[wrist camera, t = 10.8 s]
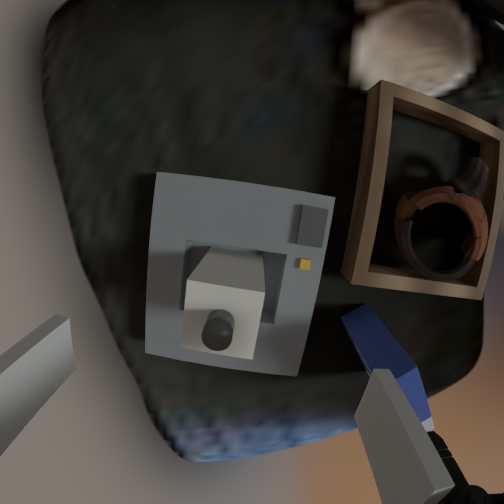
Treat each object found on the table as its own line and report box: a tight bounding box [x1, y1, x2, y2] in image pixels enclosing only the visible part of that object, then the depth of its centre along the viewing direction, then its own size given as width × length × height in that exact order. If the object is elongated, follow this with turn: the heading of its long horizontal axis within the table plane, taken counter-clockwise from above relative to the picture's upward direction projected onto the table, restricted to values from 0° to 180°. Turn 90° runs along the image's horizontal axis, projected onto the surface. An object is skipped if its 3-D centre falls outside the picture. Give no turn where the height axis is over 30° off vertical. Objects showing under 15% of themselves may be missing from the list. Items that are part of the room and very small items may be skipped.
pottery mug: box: [394, 157, 489, 281], centre depth 24 cm, size 12×10×8 cm
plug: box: [181, 246, 265, 360], centre depth 22 cm, size 4×4×12 cm
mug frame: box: [340, 80, 504, 300], centre depth 24 cm, size 15×17×4 cm
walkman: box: [341, 304, 434, 432], centre depth 23 cm, size 8×3×12 cm, turn 29°
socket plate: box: [145, 172, 335, 376], centre depth 26 cm, size 14×16×4 cm
